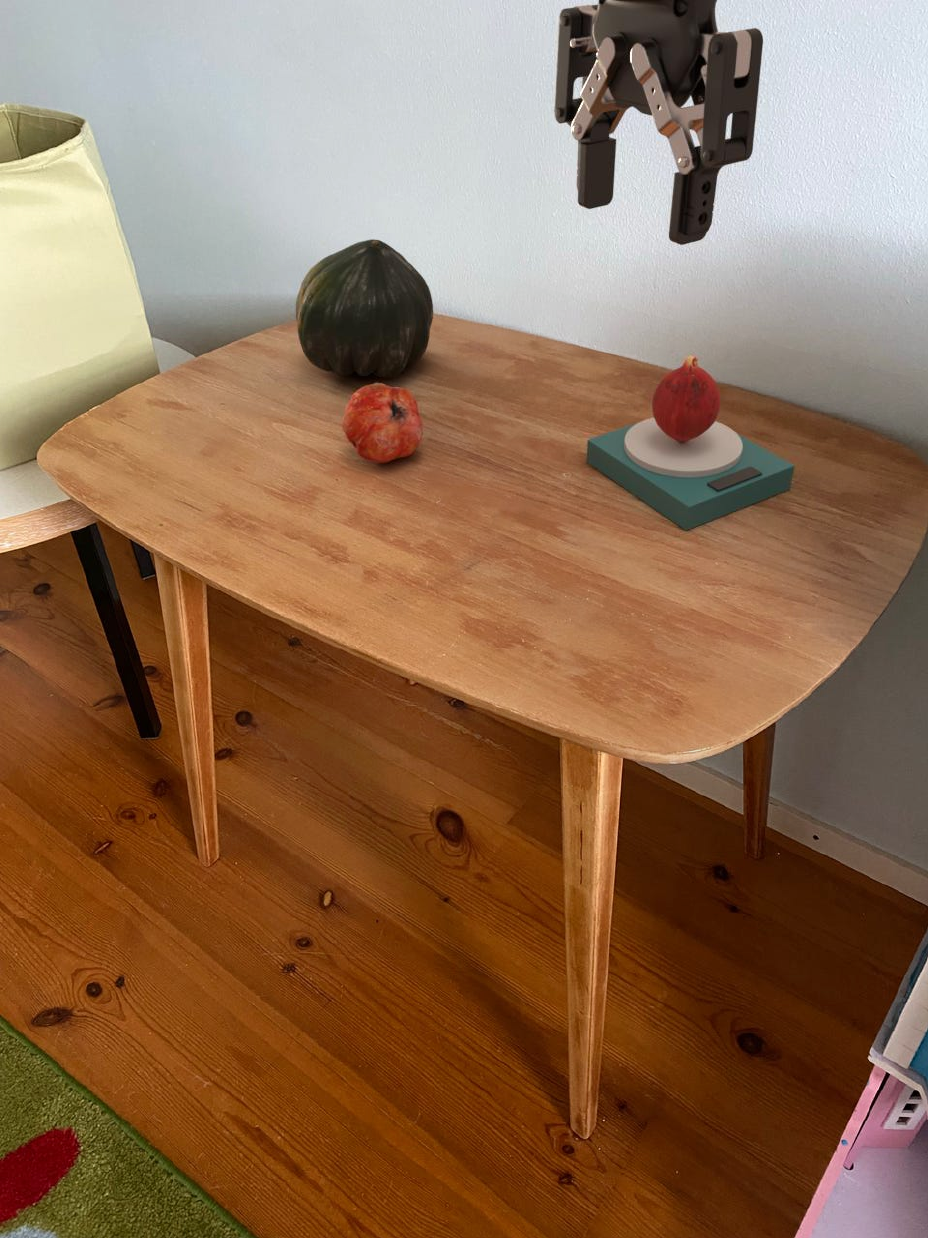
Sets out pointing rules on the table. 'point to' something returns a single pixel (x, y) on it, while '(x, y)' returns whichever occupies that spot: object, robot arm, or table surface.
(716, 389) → the onion
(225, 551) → the table surface
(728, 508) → the scale
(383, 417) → the pomegranate
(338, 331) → the squash
